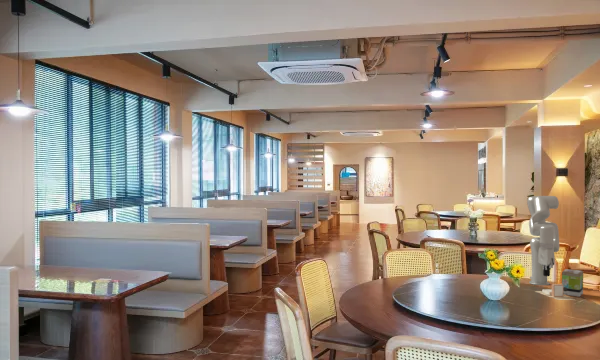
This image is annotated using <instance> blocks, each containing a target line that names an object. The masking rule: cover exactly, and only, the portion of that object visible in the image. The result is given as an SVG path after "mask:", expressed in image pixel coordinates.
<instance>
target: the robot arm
mask: <svg viewBox="0 0 600 360" xmlns="http://www.w3.org/2000/svg"><path fill="white" fill-rule="evenodd" d="M526 201H527V202H526V203H527V204H526V205H527V208H528V211H529V213H530V218H529V222H528V227H529V233H530V235H532V236H534V237H532V238H531V239H530V242H529V245H530V251H531V253H530V254H531V276H530V277H529V279H530V280H529V282H528V283H529V284H531V285H534V286H550V285H551V283H550V282H549V281H548V277H550V276H551V269H553V268H554V265H555V263H556V261H555V260H556V259H555V253H558V252H559V250H560V235H559V234H560V233H559V226H558V224H557V223H555V222H553V221H551V222H550V221H546V220H547V219H549V217H550V215H551V211H550V210H551V209H553V210H557V209H558V208H559V206H560V205H559V203H560V201H559V198H558V197H557V196H555V195H533V196H529V197H528V198H527V200H526Z"/></svg>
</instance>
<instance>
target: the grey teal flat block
mask: <svg viewBox="0 0 600 360" xmlns="http://www.w3.org/2000/svg"><path fill="white" fill-rule="evenodd" d="M542 292H543V293H545V294H548V295H552V288H551V289H547V288H546V289H542Z"/></svg>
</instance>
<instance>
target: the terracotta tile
mask: <svg viewBox="0 0 600 360" xmlns="http://www.w3.org/2000/svg"><path fill="white" fill-rule="evenodd" d="M551 289H552V296H553V297H563V284H562V283H559V284H558V283H551Z"/></svg>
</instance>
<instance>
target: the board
mask: <svg viewBox="0 0 600 360" xmlns="http://www.w3.org/2000/svg"><path fill="white" fill-rule="evenodd" d="M534 292H535V293H538V294H541V295H544V296H546V297H549V298H552V299H555V300H557V301H561V300H562V301H563V300H565V301H566V300H567V301H570V300H571V301H574V300H576V299H575V298H572V297H570V296H568V295H563V297H553V296H552V295H548V294H545V293H543V292H542V291H541V290H536V291H535V290H534Z"/></svg>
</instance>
